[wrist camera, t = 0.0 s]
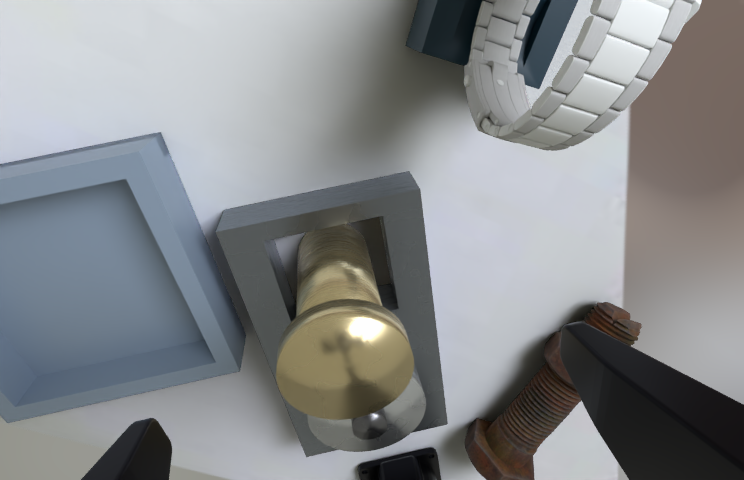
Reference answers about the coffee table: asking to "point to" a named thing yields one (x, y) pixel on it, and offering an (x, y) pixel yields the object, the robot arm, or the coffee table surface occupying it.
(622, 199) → the coffee table surface
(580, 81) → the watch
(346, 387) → the pin
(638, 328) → the bolt
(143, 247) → the tray
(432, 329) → the block
